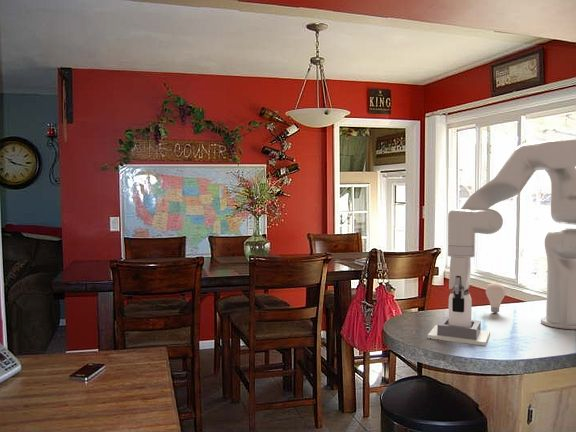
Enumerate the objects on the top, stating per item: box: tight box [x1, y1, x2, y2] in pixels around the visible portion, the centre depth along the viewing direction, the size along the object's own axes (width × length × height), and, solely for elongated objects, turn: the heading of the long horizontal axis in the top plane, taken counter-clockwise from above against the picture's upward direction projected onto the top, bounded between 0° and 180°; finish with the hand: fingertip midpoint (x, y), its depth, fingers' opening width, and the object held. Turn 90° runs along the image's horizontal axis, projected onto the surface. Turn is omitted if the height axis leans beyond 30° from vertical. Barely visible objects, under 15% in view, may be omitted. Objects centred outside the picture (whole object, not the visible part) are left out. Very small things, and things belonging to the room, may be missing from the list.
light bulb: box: [485, 282, 506, 314], centre depth 178 cm, size 7×7×11 cm
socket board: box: [427, 316, 491, 347], centre depth 148 cm, size 16×13×4 cm
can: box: [447, 290, 473, 328], centre depth 148 cm, size 6×6×12 cm
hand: (460, 308), depth 148 cm, fingers open, 9 cm apart
